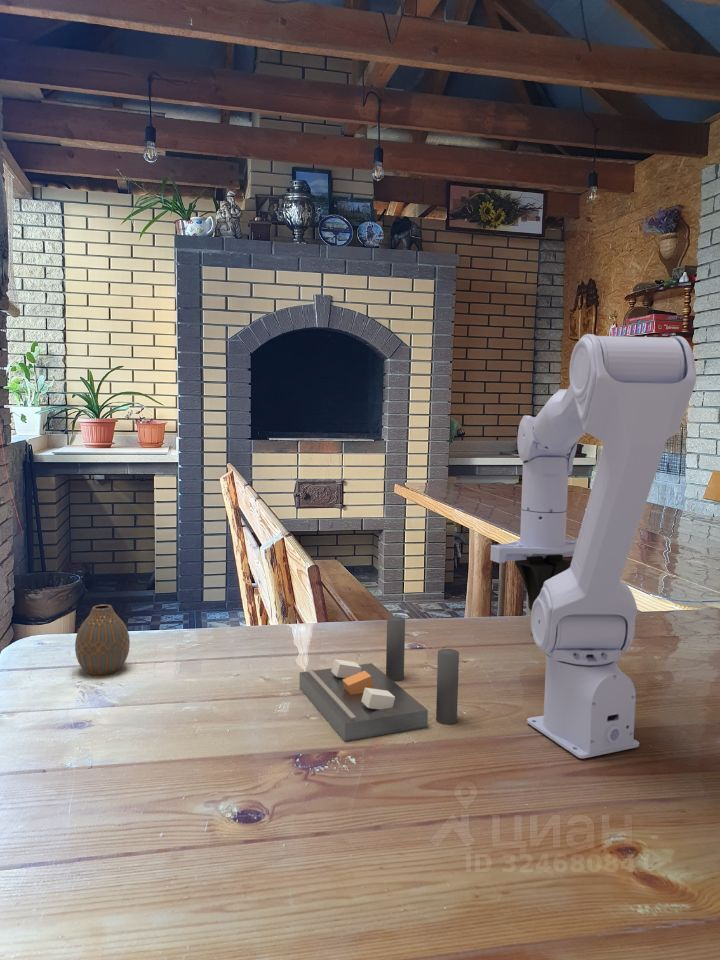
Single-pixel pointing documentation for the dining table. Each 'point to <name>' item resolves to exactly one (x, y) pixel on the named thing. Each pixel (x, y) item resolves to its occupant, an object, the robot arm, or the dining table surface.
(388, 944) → the dining table surface
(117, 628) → the vase
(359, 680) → the orange block
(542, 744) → the dining table surface
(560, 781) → the dining table surface
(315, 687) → the breaker panel
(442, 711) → the post
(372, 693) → the paddle
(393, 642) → the post
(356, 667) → the paddle
